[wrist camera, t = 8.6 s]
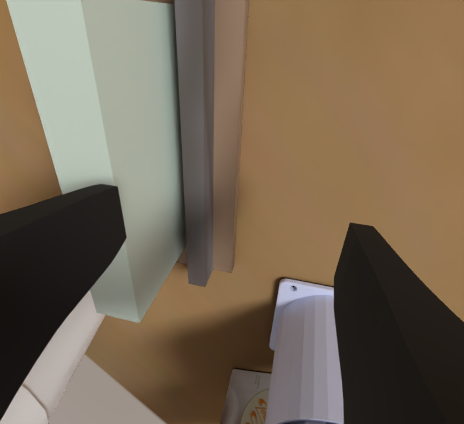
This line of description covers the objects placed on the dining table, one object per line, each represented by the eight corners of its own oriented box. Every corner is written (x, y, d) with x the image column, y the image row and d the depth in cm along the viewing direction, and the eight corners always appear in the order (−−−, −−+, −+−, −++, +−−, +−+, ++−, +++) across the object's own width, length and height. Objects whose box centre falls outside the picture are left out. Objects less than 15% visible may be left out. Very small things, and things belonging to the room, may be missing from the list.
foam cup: (21, 252, 28) (-162, 394, 17) (76, 209, 24) (-124, 364, 13) (96, 319, 31) (-22, 477, 20) (157, 292, 27) (47, 476, 16)
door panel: (175, 4, 14) (79, -7, 9) (187, 243, 22) (139, 323, 16) (126, 2, 15) (3, -10, 9) (154, 236, 22) (96, 312, 16)
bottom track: (251, -47, 13) (238, -60, 11) (233, 265, 23) (225, 291, 21) (69, -49, 15) (27, -60, 13) (123, 244, 25) (105, 266, 22)
